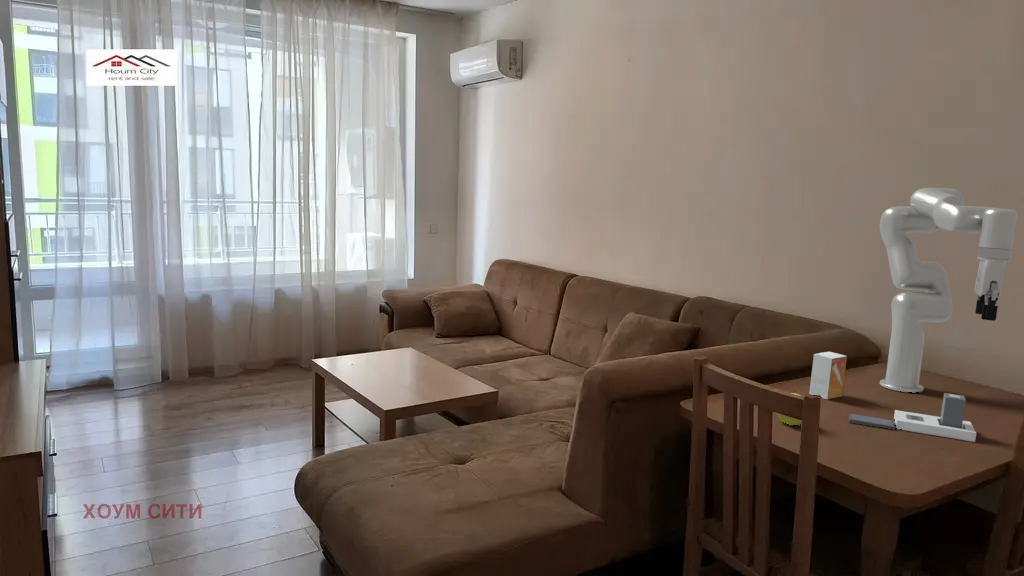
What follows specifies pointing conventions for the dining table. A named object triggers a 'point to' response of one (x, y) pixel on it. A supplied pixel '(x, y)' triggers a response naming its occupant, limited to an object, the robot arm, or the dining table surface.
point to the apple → (790, 420)
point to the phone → (871, 421)
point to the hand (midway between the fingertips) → (985, 317)
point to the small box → (828, 375)
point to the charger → (952, 410)
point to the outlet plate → (932, 426)
